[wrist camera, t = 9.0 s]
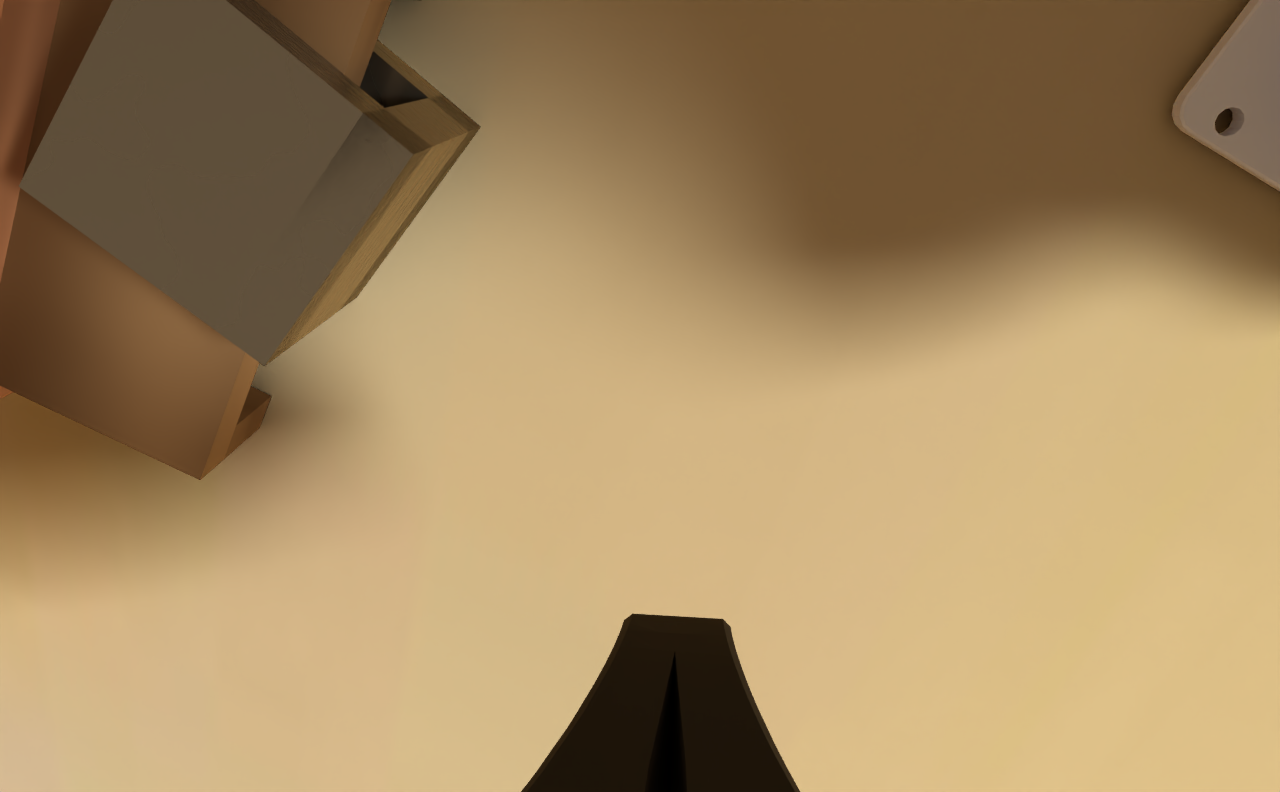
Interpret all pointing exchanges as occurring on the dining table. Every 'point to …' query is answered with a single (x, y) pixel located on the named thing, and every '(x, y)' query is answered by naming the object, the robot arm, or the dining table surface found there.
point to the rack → (104, 286)
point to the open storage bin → (242, 163)
